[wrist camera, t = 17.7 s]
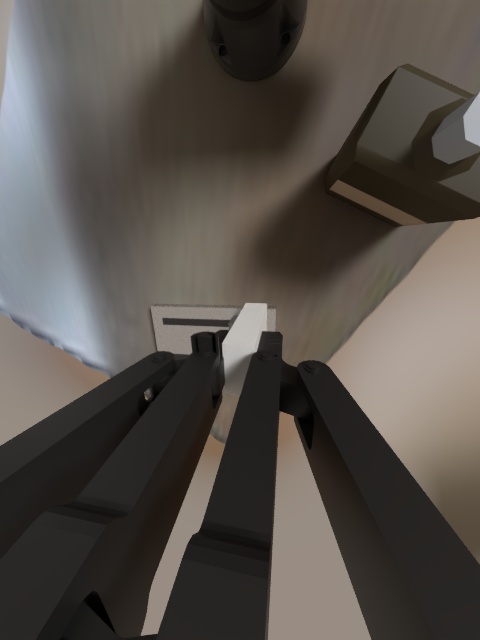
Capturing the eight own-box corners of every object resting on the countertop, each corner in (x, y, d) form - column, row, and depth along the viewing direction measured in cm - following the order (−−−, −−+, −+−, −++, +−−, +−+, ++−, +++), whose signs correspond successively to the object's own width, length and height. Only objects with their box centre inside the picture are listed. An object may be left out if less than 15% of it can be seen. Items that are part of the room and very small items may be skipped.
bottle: (344, 139, 39) (433, -9, 15) (433, 182, 38) (659, 97, 15) (318, 190, 42) (360, 130, 18) (400, 230, 41) (547, 220, 18)
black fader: (233, 315, 50) (228, 323, 45) (247, 315, 49) (243, 323, 45) (234, 332, 51) (229, 342, 46) (248, 333, 51) (244, 343, 46)
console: (155, 303, 55) (150, 306, 53) (276, 306, 50) (275, 309, 48) (163, 360, 60) (159, 365, 58) (274, 368, 55) (274, 373, 53)
